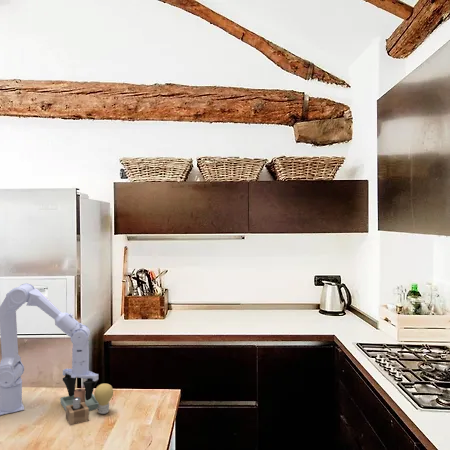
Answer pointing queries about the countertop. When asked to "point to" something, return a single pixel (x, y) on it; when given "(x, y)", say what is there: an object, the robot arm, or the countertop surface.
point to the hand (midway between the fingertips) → (80, 397)
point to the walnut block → (77, 414)
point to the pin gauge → (76, 403)
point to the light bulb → (103, 397)
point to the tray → (90, 403)
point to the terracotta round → (80, 394)
